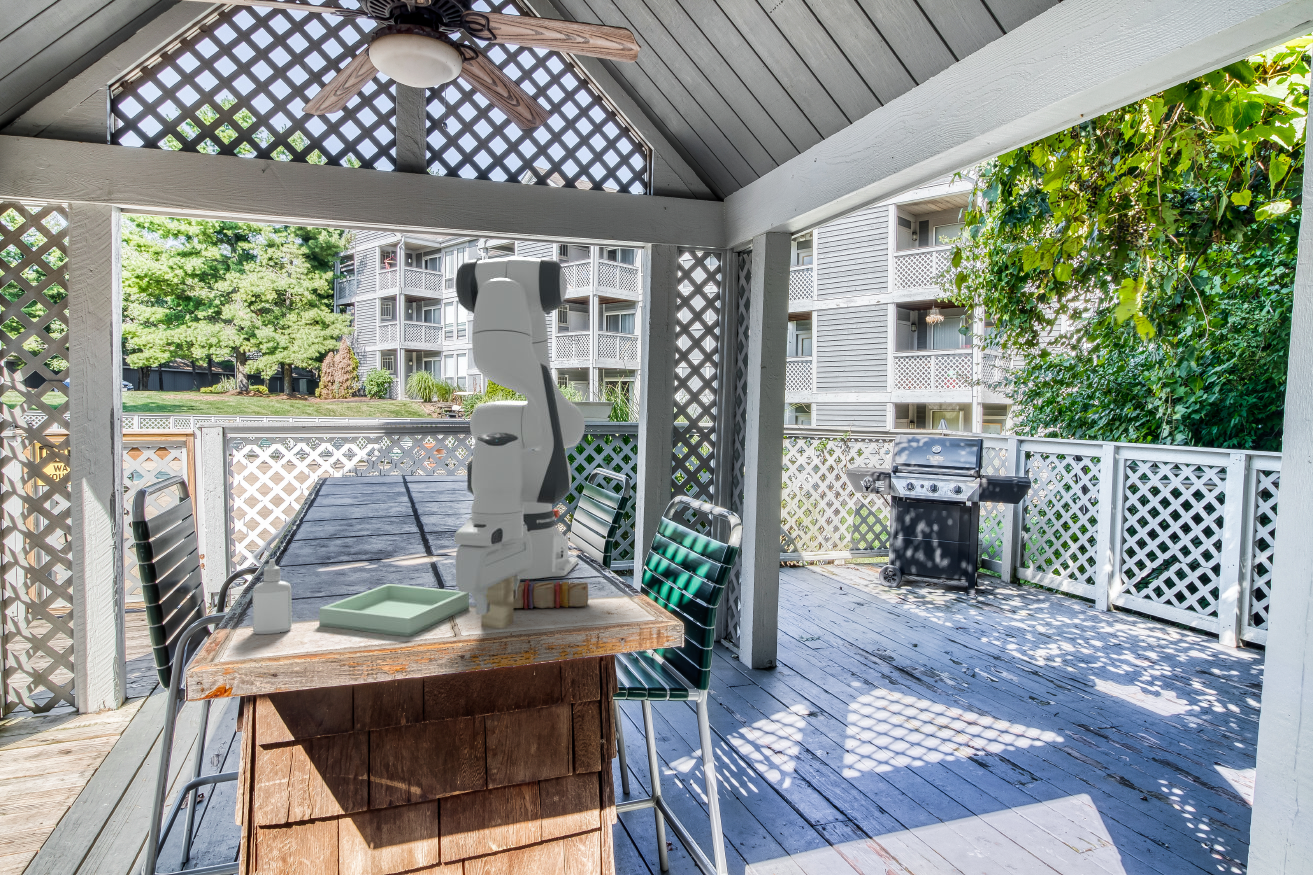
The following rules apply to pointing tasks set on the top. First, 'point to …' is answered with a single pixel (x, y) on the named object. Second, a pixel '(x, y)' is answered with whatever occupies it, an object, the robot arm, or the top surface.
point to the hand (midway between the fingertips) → (497, 605)
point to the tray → (394, 609)
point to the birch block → (499, 605)
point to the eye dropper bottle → (272, 603)
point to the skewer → (551, 595)
